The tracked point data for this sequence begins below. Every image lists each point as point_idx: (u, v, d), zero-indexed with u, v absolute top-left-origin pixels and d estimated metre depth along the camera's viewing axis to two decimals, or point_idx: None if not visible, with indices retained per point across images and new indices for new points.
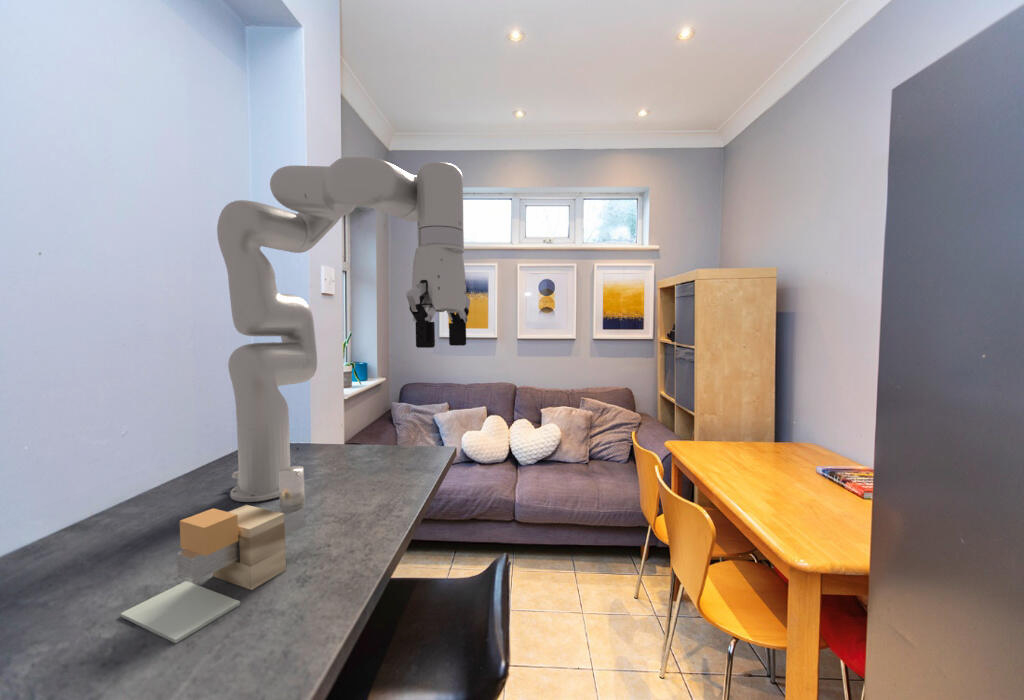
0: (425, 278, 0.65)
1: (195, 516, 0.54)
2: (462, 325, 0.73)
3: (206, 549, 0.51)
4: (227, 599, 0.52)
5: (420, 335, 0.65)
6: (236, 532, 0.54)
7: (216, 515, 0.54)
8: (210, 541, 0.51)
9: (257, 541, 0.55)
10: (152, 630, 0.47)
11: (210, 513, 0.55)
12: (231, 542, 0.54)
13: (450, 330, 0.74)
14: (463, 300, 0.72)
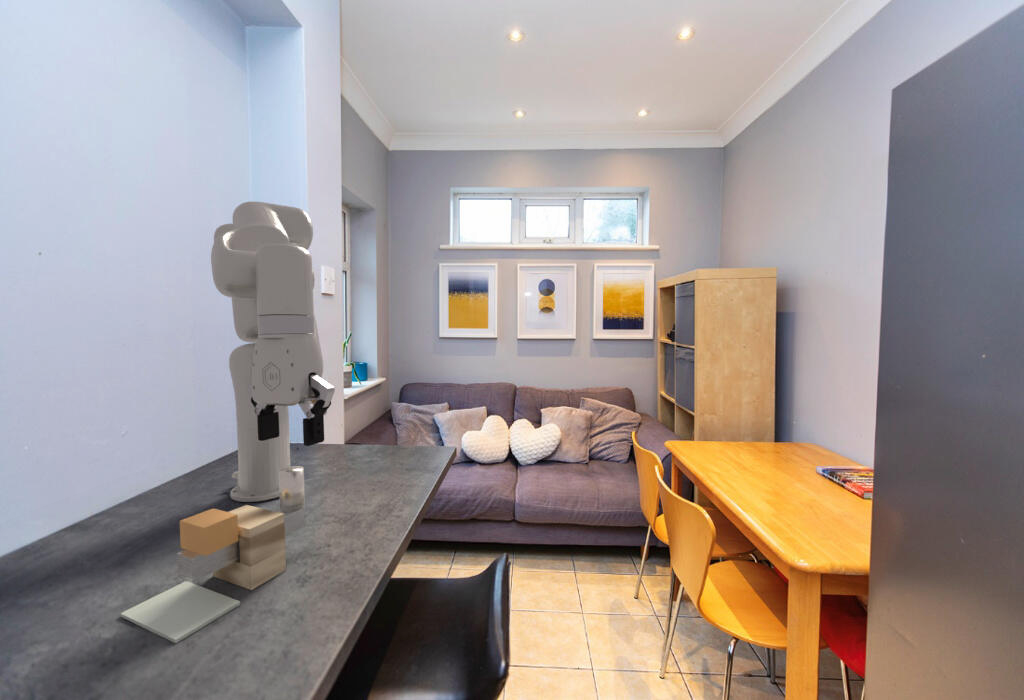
0: (314, 371, 0.62)
1: (195, 516, 0.54)
2: (277, 415, 0.67)
3: (206, 549, 0.51)
4: (227, 599, 0.52)
5: (316, 431, 0.61)
6: (236, 532, 0.54)
7: (216, 515, 0.54)
8: (210, 541, 0.51)
9: (257, 541, 0.55)
10: (152, 630, 0.47)
11: (210, 513, 0.55)
12: (231, 542, 0.54)
13: (263, 423, 0.64)
14: None
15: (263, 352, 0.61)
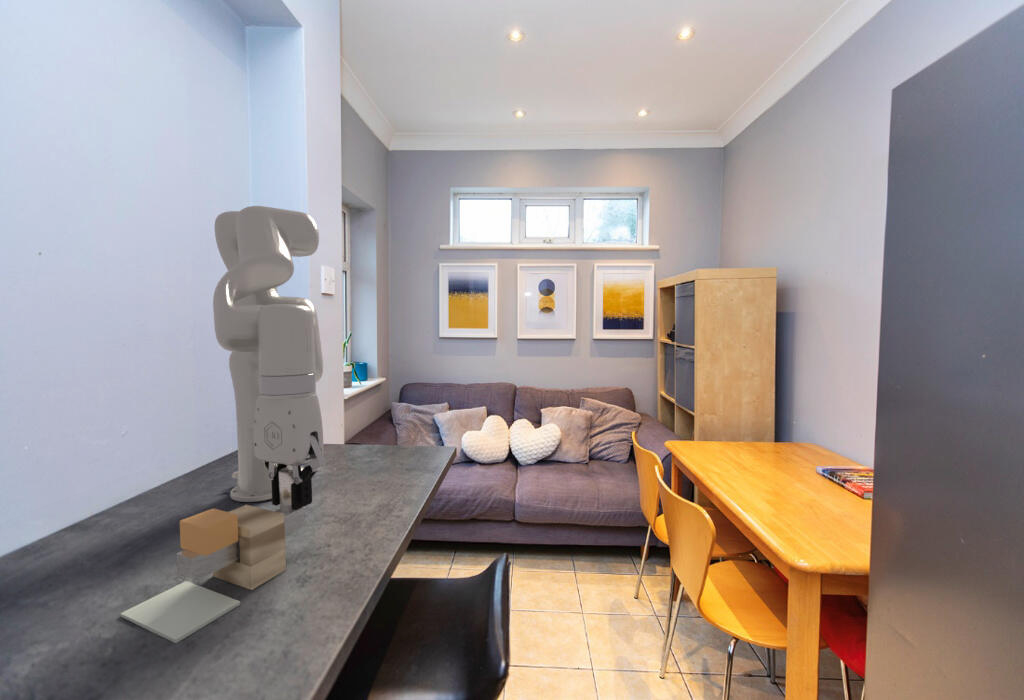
0: (315, 429, 0.62)
1: (195, 516, 0.54)
2: None
3: (206, 549, 0.51)
4: (227, 599, 0.52)
5: (304, 495, 0.63)
6: (236, 532, 0.54)
7: (216, 515, 0.54)
8: (210, 541, 0.51)
9: (257, 541, 0.55)
10: (152, 630, 0.47)
11: (210, 513, 0.55)
12: (231, 542, 0.54)
13: (277, 488, 0.64)
14: None
15: (265, 411, 0.62)
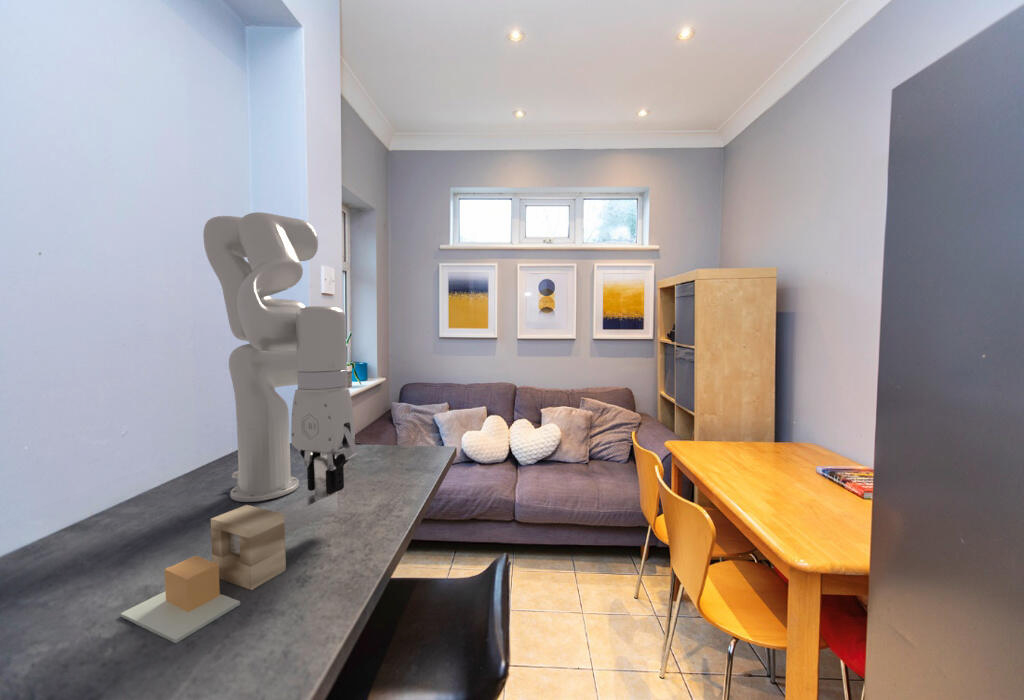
0: (348, 421, 0.68)
1: (167, 589, 0.52)
2: None
3: (213, 597, 0.52)
4: (227, 599, 0.52)
5: (338, 481, 0.69)
6: (208, 570, 0.52)
7: (177, 585, 0.51)
8: (206, 597, 0.52)
9: (257, 541, 0.55)
10: (152, 630, 0.47)
11: (170, 581, 0.51)
12: (216, 572, 0.53)
13: (312, 474, 0.70)
14: None
15: (302, 404, 0.68)
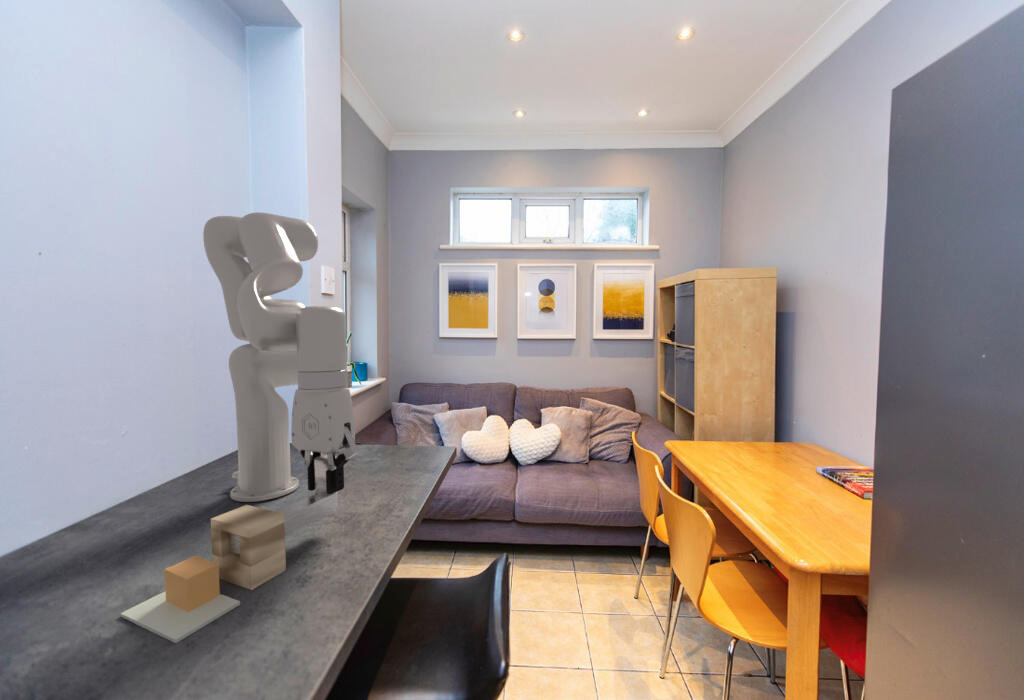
0: (348, 421, 0.68)
1: (167, 589, 0.52)
2: None
3: (213, 597, 0.52)
4: (227, 599, 0.52)
5: (338, 481, 0.69)
6: (208, 570, 0.52)
7: (177, 585, 0.51)
8: (206, 597, 0.52)
9: (257, 541, 0.55)
10: (152, 630, 0.47)
11: (170, 581, 0.51)
12: (216, 572, 0.53)
13: (312, 474, 0.70)
14: None
15: (302, 404, 0.68)
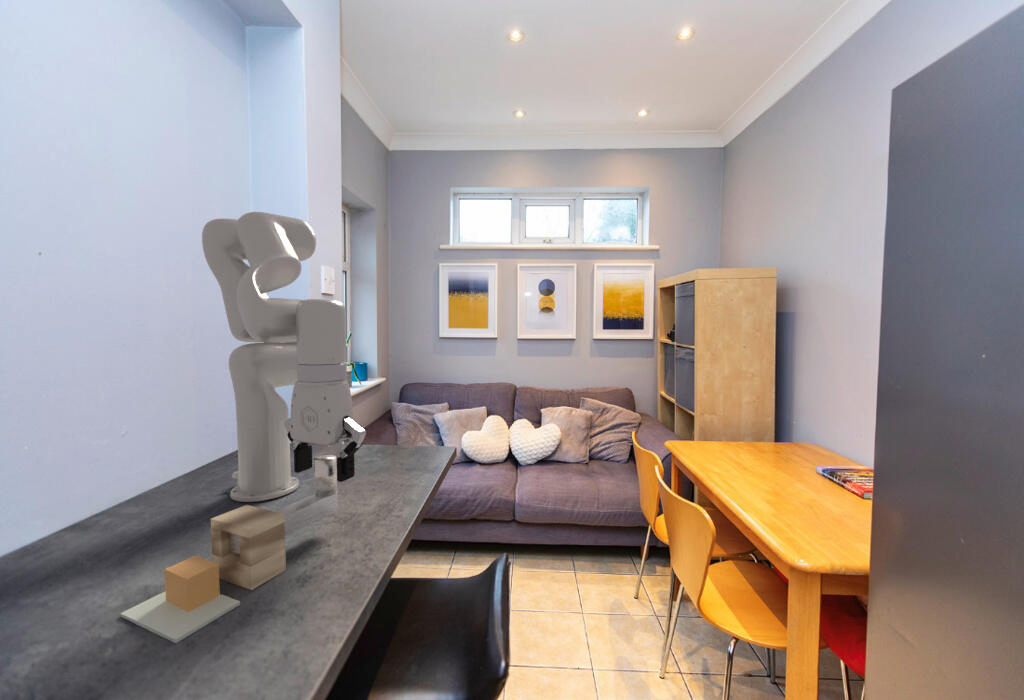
0: (347, 414, 0.68)
1: (167, 589, 0.52)
2: (311, 448, 0.74)
3: (213, 597, 0.52)
4: (227, 599, 0.52)
5: (348, 469, 0.68)
6: (208, 570, 0.52)
7: (177, 585, 0.51)
8: (206, 597, 0.52)
9: (257, 541, 0.55)
10: (152, 630, 0.47)
11: (170, 581, 0.51)
12: (216, 572, 0.53)
13: (299, 457, 0.71)
14: None
15: (301, 396, 0.68)
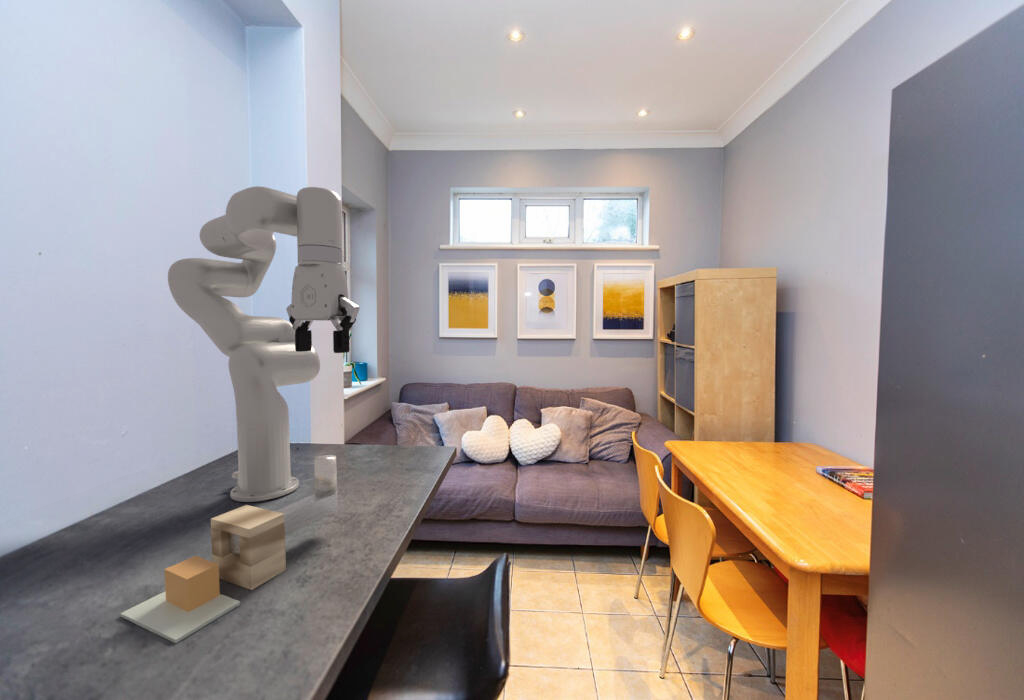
0: (342, 293, 0.76)
1: (167, 589, 0.52)
2: (310, 332, 0.81)
3: (213, 597, 0.52)
4: (227, 599, 0.52)
5: (344, 342, 0.75)
6: (208, 570, 0.52)
7: (177, 585, 0.51)
8: (206, 597, 0.52)
9: (257, 541, 0.55)
10: (152, 630, 0.47)
11: (170, 581, 0.51)
12: (216, 572, 0.53)
13: (299, 337, 0.79)
14: None
15: (301, 277, 0.75)
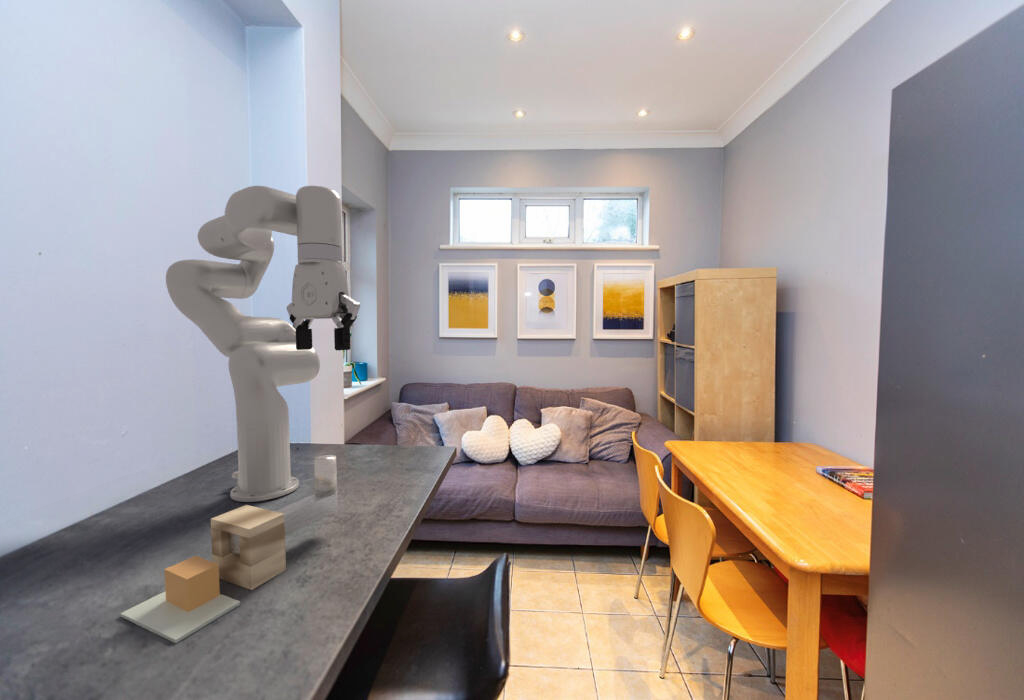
0: (343, 291, 0.76)
1: (167, 589, 0.52)
2: (311, 331, 0.81)
3: (213, 597, 0.52)
4: (227, 599, 0.52)
5: (345, 339, 0.76)
6: (208, 570, 0.52)
7: (177, 585, 0.51)
8: (206, 597, 0.52)
9: (257, 541, 0.55)
10: (152, 630, 0.47)
11: (170, 581, 0.51)
12: (216, 572, 0.53)
13: (300, 335, 0.79)
14: None
15: (302, 275, 0.76)
